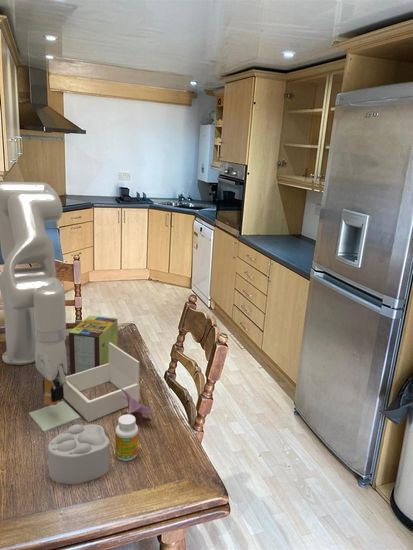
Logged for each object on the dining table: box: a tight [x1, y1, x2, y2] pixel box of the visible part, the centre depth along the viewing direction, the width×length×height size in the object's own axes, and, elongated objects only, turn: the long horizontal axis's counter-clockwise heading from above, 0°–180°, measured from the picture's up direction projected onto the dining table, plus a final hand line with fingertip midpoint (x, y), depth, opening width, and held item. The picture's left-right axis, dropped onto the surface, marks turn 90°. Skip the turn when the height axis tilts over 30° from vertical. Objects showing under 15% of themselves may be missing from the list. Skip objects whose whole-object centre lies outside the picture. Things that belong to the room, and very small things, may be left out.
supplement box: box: [44, 374, 61, 405], centre depth 115 cm, size 3×3×10 cm
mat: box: [28, 400, 81, 433], centre depth 117 cm, size 10×10×1 cm
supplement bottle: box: [114, 413, 139, 462], centre depth 103 cm, size 5×5×10 cm
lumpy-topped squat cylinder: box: [47, 423, 111, 485], centre depth 98 cm, size 10×13×9 cm
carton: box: [63, 343, 141, 423], centre depth 125 cm, size 16×16×13 cm
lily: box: [118, 387, 155, 420], centre depth 117 cm, size 12×12×10 cm
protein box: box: [68, 315, 119, 376], centre depth 142 cm, size 10×15×16 cm
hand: (53, 395), depth 116 cm, fingers closed on supplement box, 4 cm apart
